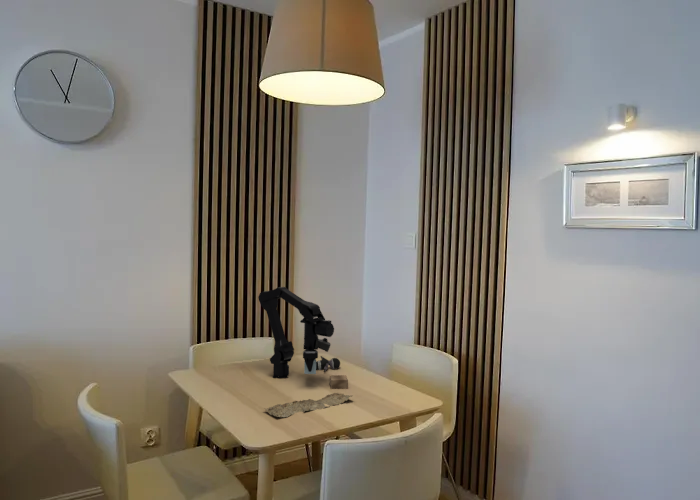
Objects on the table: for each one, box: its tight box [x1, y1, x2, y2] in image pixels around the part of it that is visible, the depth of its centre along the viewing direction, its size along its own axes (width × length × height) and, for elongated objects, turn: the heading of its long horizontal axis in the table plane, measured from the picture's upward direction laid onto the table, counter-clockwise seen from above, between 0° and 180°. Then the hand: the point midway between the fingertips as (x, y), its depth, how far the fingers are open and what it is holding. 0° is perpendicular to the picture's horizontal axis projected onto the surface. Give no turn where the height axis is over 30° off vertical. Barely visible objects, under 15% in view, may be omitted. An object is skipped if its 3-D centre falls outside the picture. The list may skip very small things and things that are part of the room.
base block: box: [329, 374, 349, 390], centre depth 221 cm, size 7×7×4 cm
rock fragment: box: [263, 392, 354, 418], centre depth 196 cm, size 34×10×3 cm, turn 129°
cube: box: [303, 358, 317, 375], centre depth 225 cm, size 5×5×5 cm
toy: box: [316, 355, 341, 373], centre depth 248 cm, size 16×5×15 cm
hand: (310, 369), depth 225 cm, fingers closed on cube, 5 cm apart
